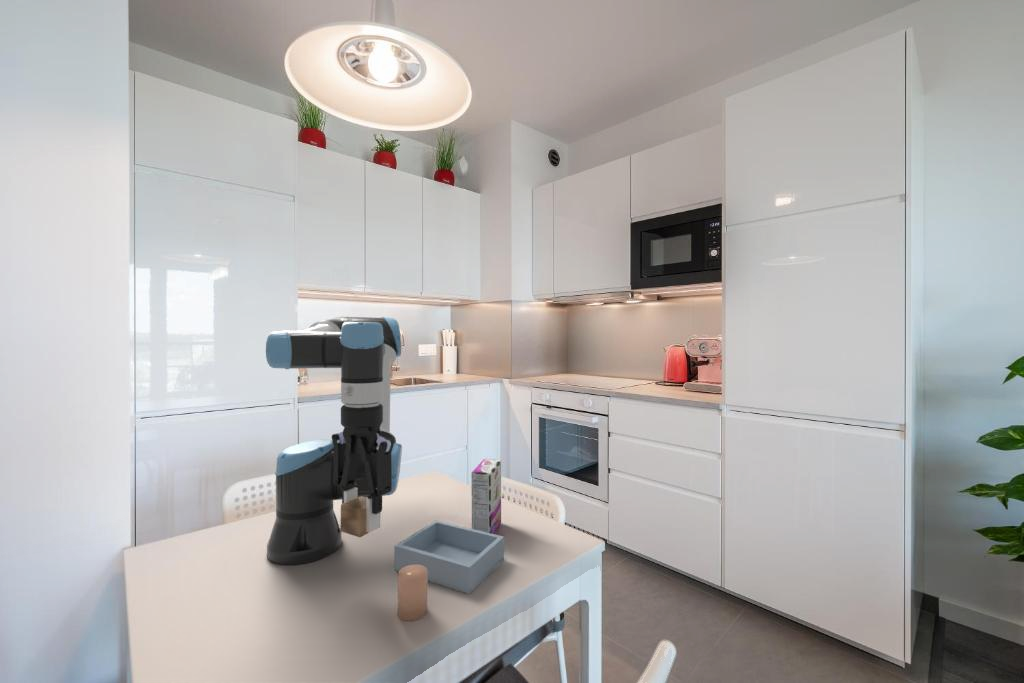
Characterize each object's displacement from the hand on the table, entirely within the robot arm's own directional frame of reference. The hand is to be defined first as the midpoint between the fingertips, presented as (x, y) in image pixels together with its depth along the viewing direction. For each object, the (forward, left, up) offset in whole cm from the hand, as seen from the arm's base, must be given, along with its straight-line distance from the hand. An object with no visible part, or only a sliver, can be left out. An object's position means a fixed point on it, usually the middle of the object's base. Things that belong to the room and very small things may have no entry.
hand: (361, 526), depth 83 cm
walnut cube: (0, 0, 0) cm, 1 cm away
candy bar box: (+9, +32, -12) cm, 35 cm away
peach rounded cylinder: (+13, -1, -12) cm, 18 cm away
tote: (+10, +15, -12) cm, 22 cm away
